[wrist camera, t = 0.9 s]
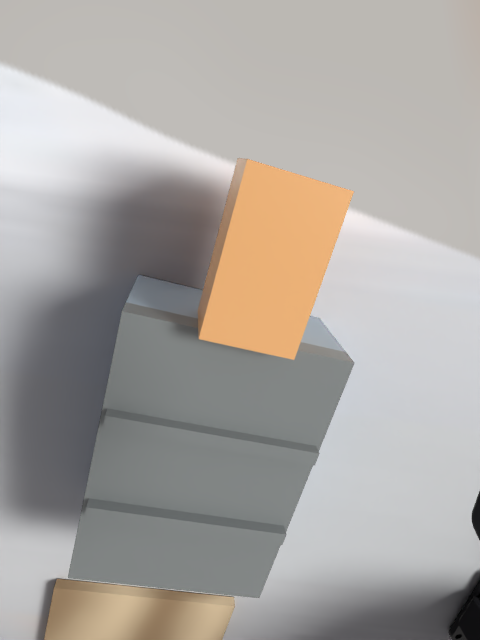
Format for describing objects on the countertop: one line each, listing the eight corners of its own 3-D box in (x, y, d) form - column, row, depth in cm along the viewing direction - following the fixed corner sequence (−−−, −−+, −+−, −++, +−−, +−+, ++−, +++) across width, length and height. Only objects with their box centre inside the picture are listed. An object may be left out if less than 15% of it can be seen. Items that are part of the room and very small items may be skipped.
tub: (319, 318, 22) (346, 352, 18) (247, 517, 26) (256, 579, 22) (138, 274, 20) (125, 302, 16) (91, 496, 24) (73, 558, 20)
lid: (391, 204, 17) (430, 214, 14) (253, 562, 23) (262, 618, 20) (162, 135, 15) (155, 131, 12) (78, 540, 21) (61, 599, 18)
